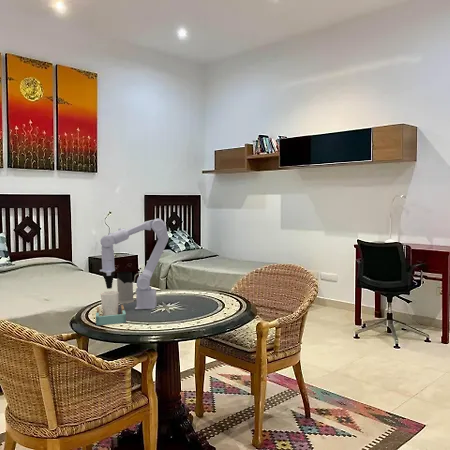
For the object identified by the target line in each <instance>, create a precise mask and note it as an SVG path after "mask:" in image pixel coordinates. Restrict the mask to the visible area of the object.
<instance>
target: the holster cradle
mask: <svg viewBox="0 0 450 450" xmlns="http://www.w3.org/2000/svg"><path fill="white" fill-rule="evenodd" d="M120 310H121V311H120V312H121V313H122V310H125V307H124V304H120ZM96 313H99V314H100V306H96Z"/></svg>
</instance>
